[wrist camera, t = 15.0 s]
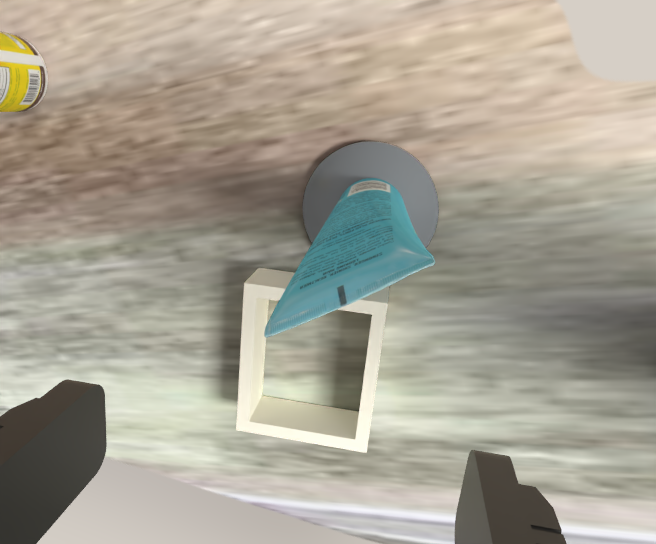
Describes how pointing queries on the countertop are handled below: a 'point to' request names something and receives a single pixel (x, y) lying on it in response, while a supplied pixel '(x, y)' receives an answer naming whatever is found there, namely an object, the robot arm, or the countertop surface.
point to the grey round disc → (372, 163)
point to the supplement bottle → (20, 74)
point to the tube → (352, 255)
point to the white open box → (293, 415)
